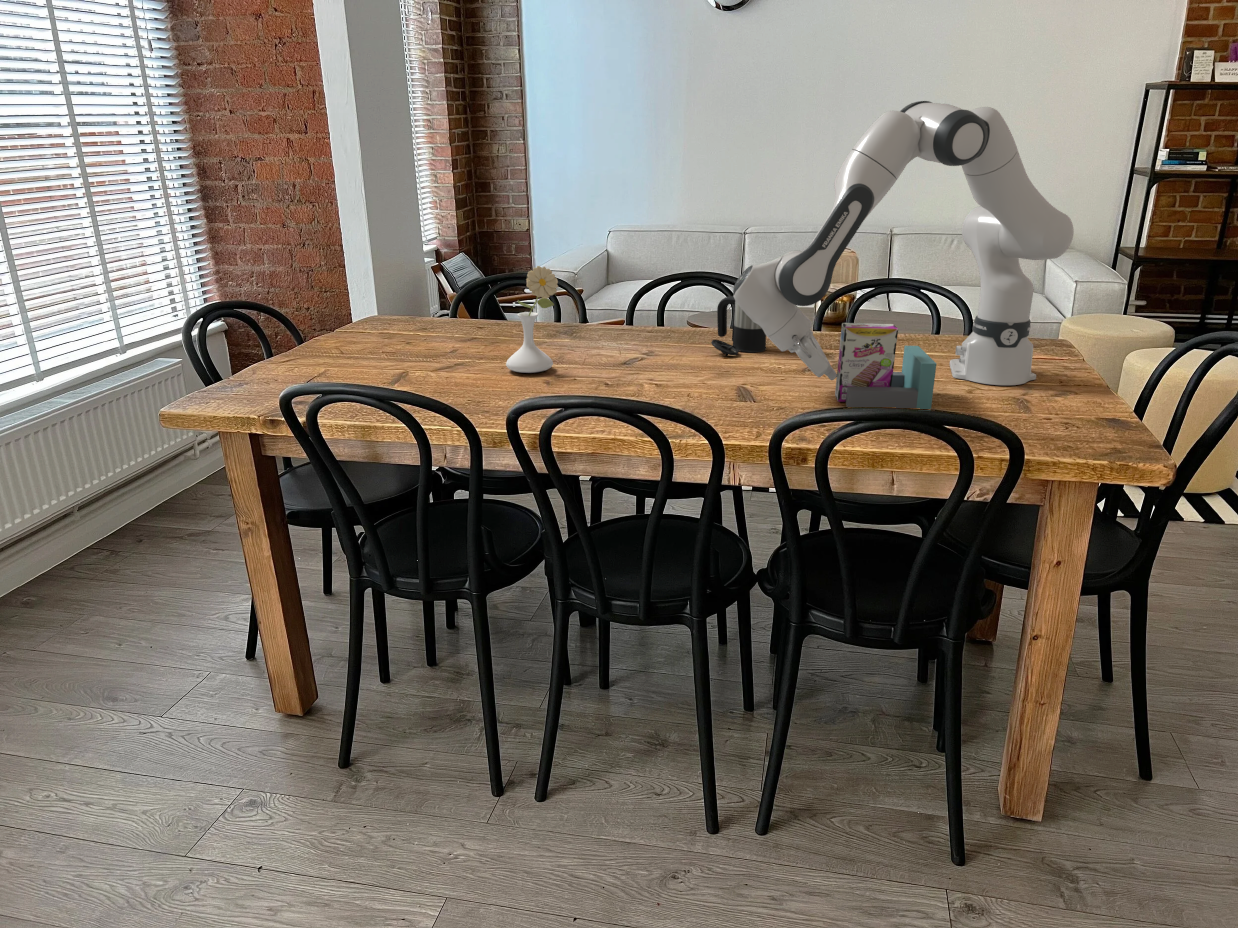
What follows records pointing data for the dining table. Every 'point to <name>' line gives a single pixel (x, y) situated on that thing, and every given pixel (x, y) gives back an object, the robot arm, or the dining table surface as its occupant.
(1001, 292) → the robot arm
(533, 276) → the flower in vase
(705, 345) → the dining table surface
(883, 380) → the candy bar box
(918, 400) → the grey and teal stand
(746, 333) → the milk frother
